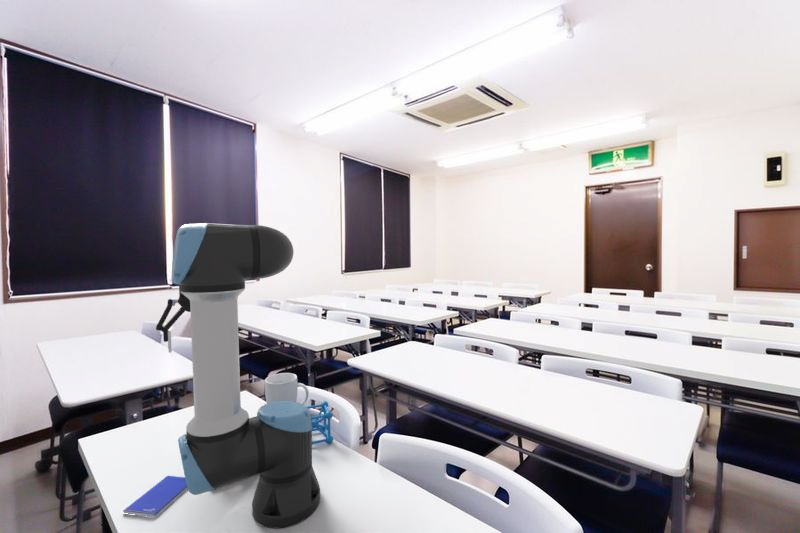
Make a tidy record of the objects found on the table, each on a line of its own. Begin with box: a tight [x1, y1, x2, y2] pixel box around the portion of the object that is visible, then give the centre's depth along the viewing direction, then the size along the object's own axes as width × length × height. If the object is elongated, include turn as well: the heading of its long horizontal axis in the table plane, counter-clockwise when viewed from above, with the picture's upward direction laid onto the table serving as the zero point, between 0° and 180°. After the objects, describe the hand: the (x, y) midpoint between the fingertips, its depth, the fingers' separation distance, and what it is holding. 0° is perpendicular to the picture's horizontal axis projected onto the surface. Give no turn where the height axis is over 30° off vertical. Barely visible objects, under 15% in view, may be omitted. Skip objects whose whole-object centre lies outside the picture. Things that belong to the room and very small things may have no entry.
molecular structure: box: [306, 400, 334, 445], centre depth 111 cm, size 10×10×10 cm
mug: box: [264, 372, 310, 405], centre depth 129 cm, size 15×11×13 cm
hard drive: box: [122, 475, 188, 519], centre depth 86 cm, size 2×8×12 cm
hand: (195, 348), depth 115 cm, fingers open, 13 cm apart
